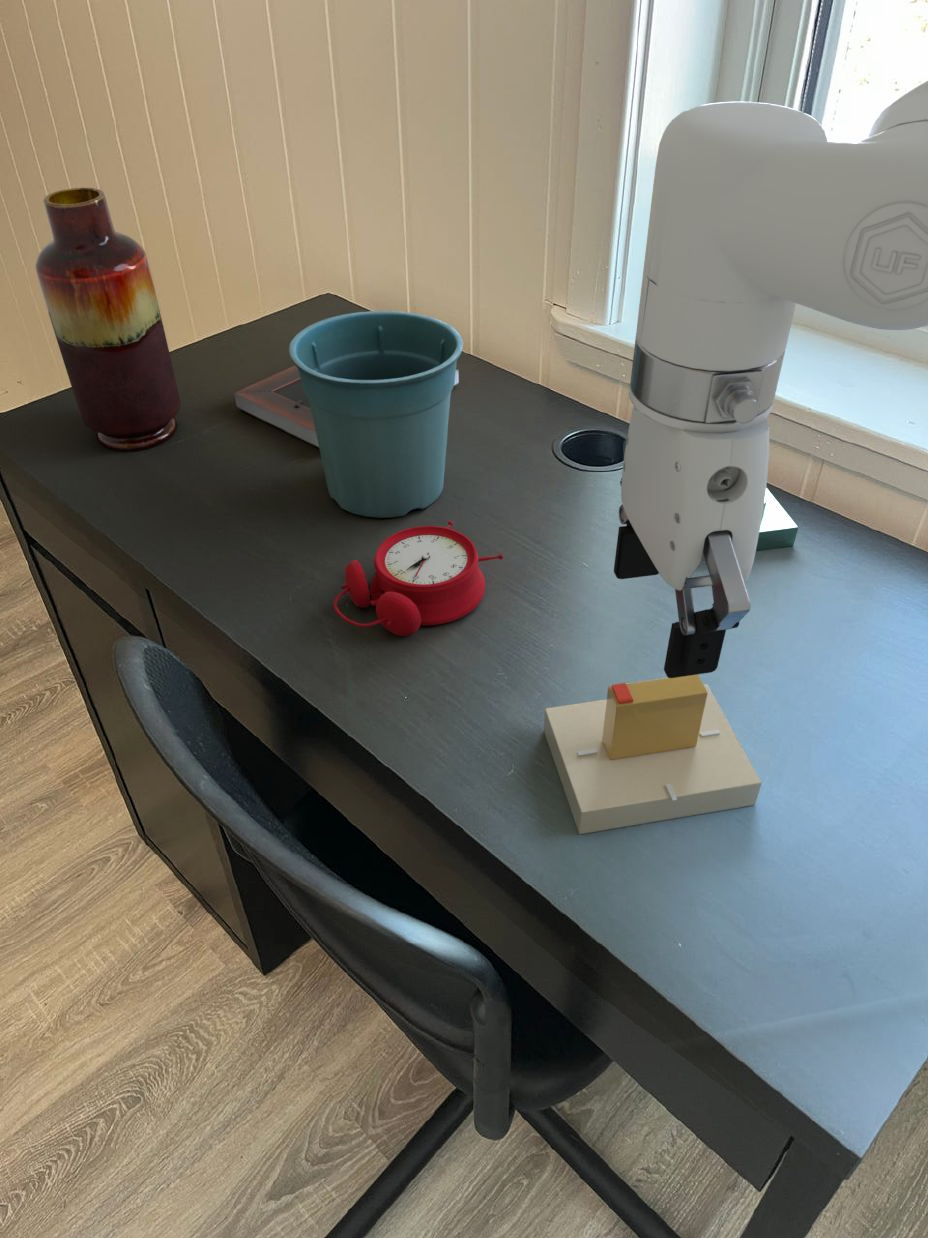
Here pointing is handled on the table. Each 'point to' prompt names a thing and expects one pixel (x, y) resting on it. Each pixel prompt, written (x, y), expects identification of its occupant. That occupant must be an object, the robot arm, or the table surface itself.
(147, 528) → the table surface
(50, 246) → the vase
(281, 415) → the picture frame
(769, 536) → the button block
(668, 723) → the tan block
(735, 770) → the dial base plate
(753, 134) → the robot arm
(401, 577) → the alarm clock
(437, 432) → the flower pot
